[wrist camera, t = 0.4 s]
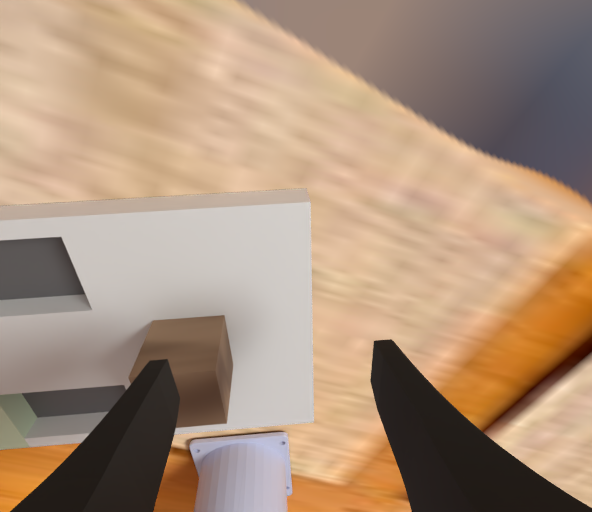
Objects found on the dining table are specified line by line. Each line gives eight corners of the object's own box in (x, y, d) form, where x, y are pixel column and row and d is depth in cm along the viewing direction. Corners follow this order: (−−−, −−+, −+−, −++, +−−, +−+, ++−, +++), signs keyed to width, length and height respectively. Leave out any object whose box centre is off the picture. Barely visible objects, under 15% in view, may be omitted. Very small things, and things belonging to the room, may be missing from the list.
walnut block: (233, 364, 22) (226, 423, 18) (168, 369, 21) (149, 430, 18) (224, 315, 20) (215, 370, 16) (152, 320, 19) (128, 377, 16)
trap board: (310, 398, 27) (318, 456, 23) (-37, 428, 26) (-91, 494, 22) (306, 188, 18) (316, 224, 14) (-216, 218, 17) (-357, 266, 13)
